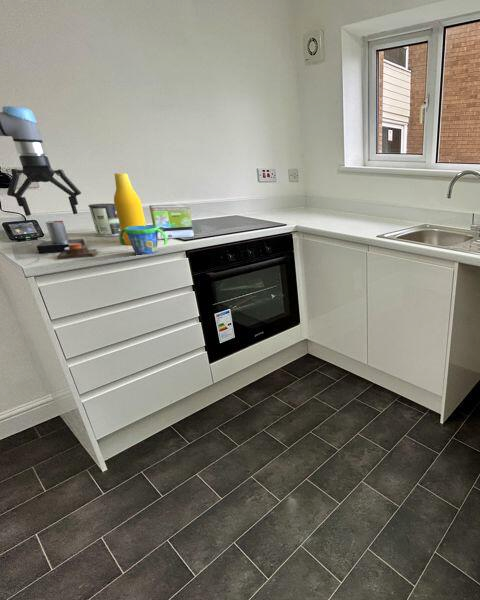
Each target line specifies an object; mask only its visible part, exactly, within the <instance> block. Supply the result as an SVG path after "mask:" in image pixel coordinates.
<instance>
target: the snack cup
mask: <svg viewBox="0 0 480 600" xmlns="http://www.w3.org/2000/svg"><path fill="white" fill-rule="evenodd" d="M124 231H125V232H126V233H127V235H128V237H129V240H130V242H131V245H130V246H132V249H133V252H134V253H135V254H136V255H139V256H141V255H153V254H157V253H158V251H159V243H158V241H159V240H158V239H157V235H158V231H159V232H160V233H161V234H162V235H163V236H164V239H163V244H164V245H165V246H167V244H168V238H167V237H166V235H165V233H164V232H163V231H162V230H161V229H158V228H157V227H156V226H153V225H147V224H146V226H131V227H126V228H125V229H124V230H122V231H121V232H120V235H118V236H119V237H118V238H119V242H120V244H121V245H122V246H125V245H126V244H125V241H124V239H123V232H124Z"/></svg>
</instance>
